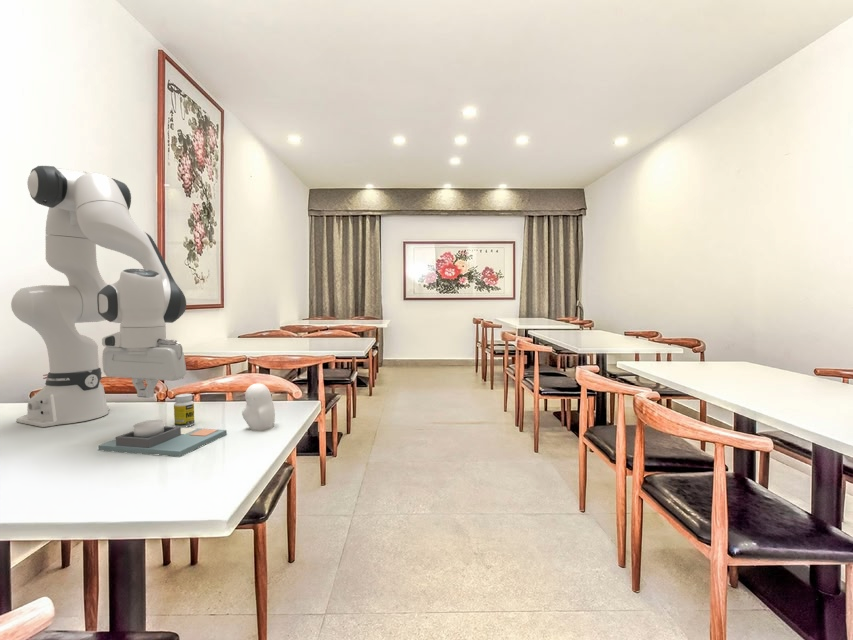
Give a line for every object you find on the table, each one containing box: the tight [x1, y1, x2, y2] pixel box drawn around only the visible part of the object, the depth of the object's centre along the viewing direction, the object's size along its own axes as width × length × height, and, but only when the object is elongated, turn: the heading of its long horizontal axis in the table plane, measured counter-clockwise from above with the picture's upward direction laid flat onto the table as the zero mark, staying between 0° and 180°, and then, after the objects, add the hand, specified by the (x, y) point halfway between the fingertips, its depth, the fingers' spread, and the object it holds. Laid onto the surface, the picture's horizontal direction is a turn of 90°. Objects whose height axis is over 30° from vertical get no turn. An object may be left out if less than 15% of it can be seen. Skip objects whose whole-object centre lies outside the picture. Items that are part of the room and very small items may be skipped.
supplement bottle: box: [173, 393, 196, 428], centre depth 113 cm, size 5×5×8 cm
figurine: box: [241, 383, 276, 431], centre depth 111 cm, size 7×8×12 cm
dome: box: [132, 419, 165, 438], centre depth 98 cm, size 6×6×4 cm
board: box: [97, 425, 228, 457], centre depth 100 cm, size 22×15×3 cm
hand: (145, 397), depth 98 cm, fingers closed
